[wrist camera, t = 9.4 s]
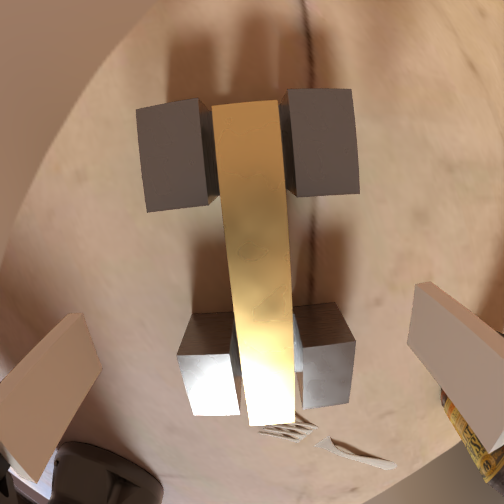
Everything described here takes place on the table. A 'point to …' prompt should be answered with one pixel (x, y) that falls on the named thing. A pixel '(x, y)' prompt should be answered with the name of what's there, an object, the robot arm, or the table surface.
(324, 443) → the fork
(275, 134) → the link bar
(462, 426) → the sauce bottle
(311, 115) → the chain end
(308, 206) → the table surface
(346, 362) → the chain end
